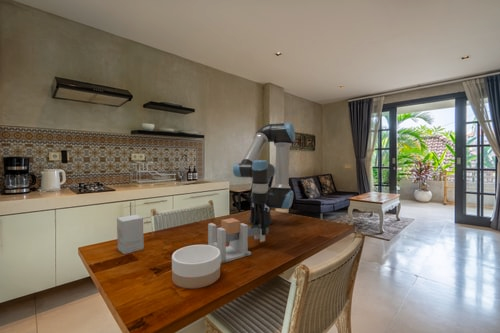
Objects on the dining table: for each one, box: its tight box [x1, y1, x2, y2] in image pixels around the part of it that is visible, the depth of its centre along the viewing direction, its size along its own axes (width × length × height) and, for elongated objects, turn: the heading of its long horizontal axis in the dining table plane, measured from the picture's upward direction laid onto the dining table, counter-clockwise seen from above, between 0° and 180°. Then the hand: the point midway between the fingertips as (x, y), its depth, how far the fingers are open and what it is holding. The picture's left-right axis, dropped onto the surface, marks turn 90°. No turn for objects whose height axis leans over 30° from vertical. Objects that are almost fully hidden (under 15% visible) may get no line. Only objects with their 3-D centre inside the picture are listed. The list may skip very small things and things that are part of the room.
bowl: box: [171, 244, 221, 289], centre depth 86 cm, size 17×17×8 cm
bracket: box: [207, 222, 252, 265], centre depth 104 cm, size 17×12×14 cm
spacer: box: [220, 217, 241, 235], centre depth 105 cm, size 6×6×5 cm
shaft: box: [226, 222, 270, 243], centre depth 110 cm, size 24×5×5 cm, turn 126°
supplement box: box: [116, 214, 145, 255], centre depth 110 cm, size 9×9×15 cm
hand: (259, 239), depth 115 cm, fingers closed on shaft, 4 cm apart
